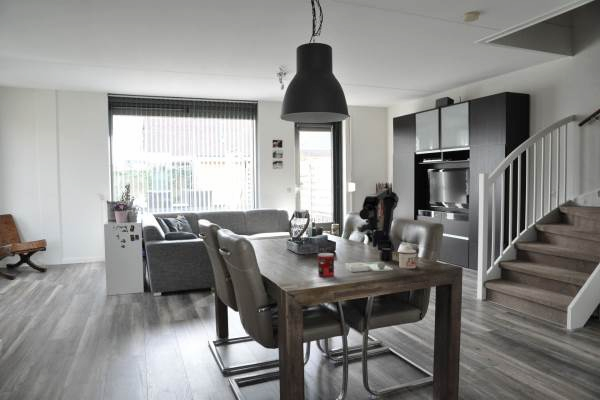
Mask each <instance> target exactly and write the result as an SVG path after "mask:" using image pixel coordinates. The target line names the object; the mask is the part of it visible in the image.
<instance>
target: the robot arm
mask: <svg viewBox="0 0 600 400" xmlns="http://www.w3.org/2000/svg"><path fill="white" fill-rule="evenodd" d="M381 201H382V204H383V206H384V208H385V210H384V216H383V224H382V229H381V228H380V227H379V223H380V220H379V209H380V208H379V205H380V204H381ZM399 201H400V198H399V196H398V195H397V193H396V192H394V191H392V189H391V188H381V189H380V190H379V191H377V192H376V193H374V194H366V196H365V198H364V200H363V204H362V209H360V210H359V212H358V213H359V218H360V219H362V220H363V221H365V222H364V223H361V224H359V225H357V226H356V228H357V231H358V233H363V234H364V235H366V237H367V240H368V243H369V244H370V242H373V247H376V248H377V250H378V251H380V252H379V260H380V262H381V261H382V262H391V261H394V258H393V252H395V250H396V246H395V243H394V241H393V237H392V235H391V233H392V226H393V225H392V223H393V219H394V218H393V217H394V210H395V209H396V208H397V207H398V204H399ZM376 245H377V246H376Z"/></svg>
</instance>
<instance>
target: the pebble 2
mask: <svg viewBox="0 0 600 400" xmlns="http://www.w3.org/2000/svg"><path fill="white" fill-rule="evenodd" d="M378 262H379V263H378V264H377V266H378V268H379V269H384V267H385V265H386V263H385V261H381V260H380V261H378Z"/></svg>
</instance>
